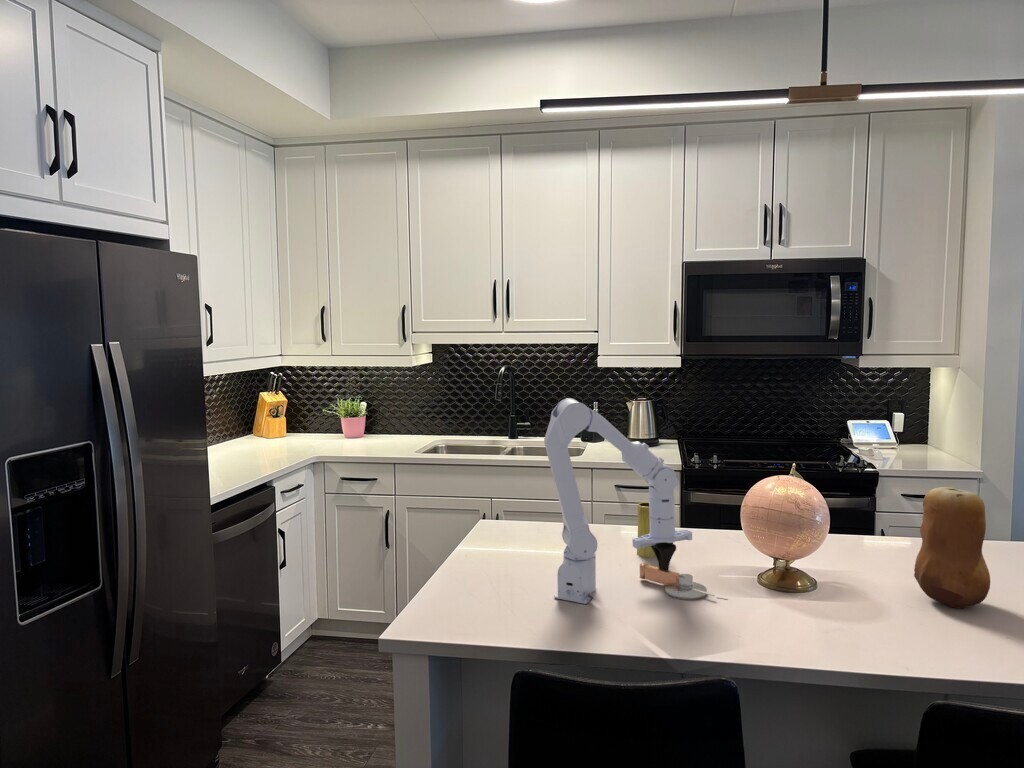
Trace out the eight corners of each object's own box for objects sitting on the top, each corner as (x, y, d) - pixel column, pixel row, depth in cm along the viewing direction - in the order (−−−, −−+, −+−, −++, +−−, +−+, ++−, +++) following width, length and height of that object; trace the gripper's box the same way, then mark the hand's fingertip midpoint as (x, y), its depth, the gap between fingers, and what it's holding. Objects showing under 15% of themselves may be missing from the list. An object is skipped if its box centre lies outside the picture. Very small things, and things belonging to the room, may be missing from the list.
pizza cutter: (724, 594, 160) (724, 578, 160) (703, 606, 154) (703, 589, 153) (651, 574, 173) (651, 559, 173) (629, 584, 167) (629, 568, 167)
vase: (633, 560, 187) (633, 506, 186) (640, 553, 193) (640, 500, 192) (656, 563, 185) (656, 508, 183) (663, 556, 190) (663, 502, 189)
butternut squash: (987, 599, 158) (992, 485, 156) (990, 621, 147) (995, 499, 145) (914, 588, 165) (917, 479, 163) (912, 608, 154) (915, 492, 152)
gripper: (643, 525, 160) (644, 585, 161) (699, 516, 165) (700, 574, 166) (627, 517, 167) (629, 575, 168) (681, 509, 172) (683, 565, 173)
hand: (663, 574), depth 167 cm, fingers closed, pressing on pizza cutter
